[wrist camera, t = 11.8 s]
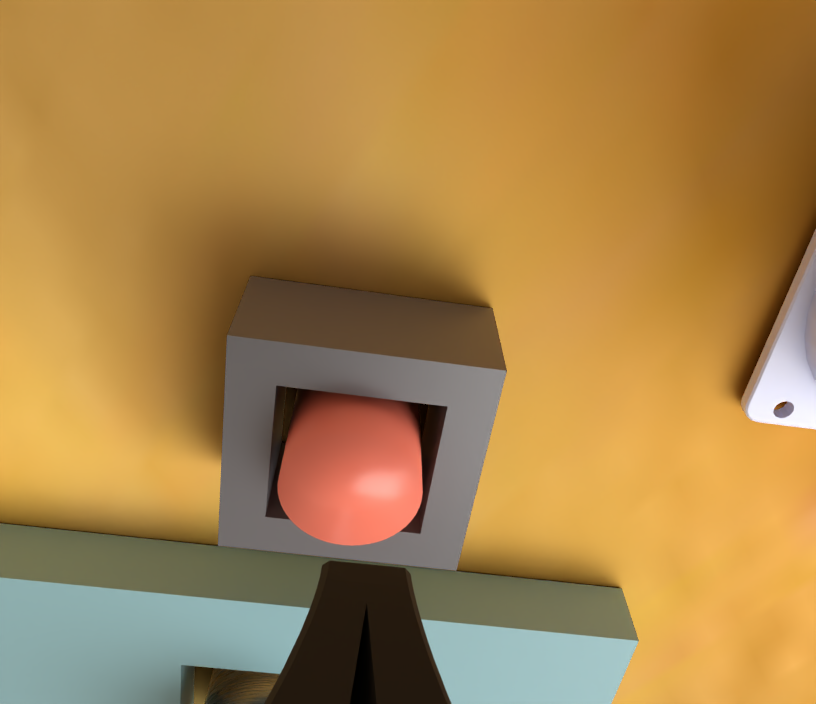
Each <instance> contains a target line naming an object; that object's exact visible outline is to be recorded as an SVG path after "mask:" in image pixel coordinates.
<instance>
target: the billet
mask: <svg viewBox="0 0 816 704" xmlns="http://www.w3.org/2000/svg"><path fill="white" fill-rule="evenodd" d="M279 675H280V674H275V673H264V672H253V671H242V670H231V669H220V668H214V669H213V672H212V676H211V680H210V684H209V688H208V692H207V696H206V701H205V704H264V703H265V701H266V699H267V697H268V695H269V694H270V692H271V690H272V688H273V686H274V685H275V683H276V681H277V679H278V677H279Z"/></svg>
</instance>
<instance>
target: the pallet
mask: <svg viewBox="0 0 816 704" xmlns="http://www.w3.org/2000/svg"><path fill="white" fill-rule="evenodd" d="M328 561H341V562H351V563H361V564H371V565H382V566H392V567H402V568H406V569H407V570H408V571H409V573H410V574H411V579H412V585H413V589H414V594H415V598H416V602H417V606H418V610H419V613H420V617H421V620H422V624H423V627H424V630H425V633H426V636H427V640H428V643H429V646H430V649H431V651H432V654H433V657H434V660H435V663H436V665H437V668H438V670H439V673H440V676H441V678H442V681H443V684H444V686H445V689H446V691H447V694H448V696H449V699H450V701H451V704H611V703H612V701H613V698H614V696H615V694H616V692H617V689H618V687H619V685H620V682H621V680H622V678H623V676H624V673H625V671H626V669H627V667H628V664H629V662H630V660H631V657H632V655H633V653H634V651H635V648H636V646H637V644H638V641H639V640H638V637H637V634H636V631H635V628H634V625H633V622H632V619H631V615H630V612H629V609H628V606H627V603H626V600H625V597H624V594H623V591H622V588H612V587H603V586H593V585H584V584H574V583H565V582H555V581H546V580H536V579H527V578H517V577H508V576H498V575H489V574H479V573H470V572H460V571H450V570H441V569H431V568H422V567H412V566H403V565H393V564H384V563H374V562H365V561H355V560H346V559H336V558H327V557H317V556H307V555H298V554H288V553H279V552H269V551H260V550H250V549H241V548H231V547H222V546H212V545H203V544H193V543H184V542H174V541H165V540H155V539H145V538H136V537H126V536H117V535H107V534H98V533H88V532H79V531H69V530H60V529H50V528H41V527H31V526H22V525H12V524H3V523H0V704H194V676H195V666H199V667H209V668H220V669H231V670H242V671H253V672H264V673H275V674H280V673H281V671H282V669H283V667H284V665H285V663H286V661H287V659H288V657H289V655H290V653H291V651H292V648H293V646H294V644H295V642H296V640H297V638H298V636H299V634H300V631H301V629H302V627H303V624H304V622H305V619H306V617H307V614H308V612H309V609H310V607H311V604H312V601H313V598H314V595H315V592H316V589H317V585H318V582H319V578H320V573H321V568H322V565H323V564H325V563H326V562H328Z"/></svg>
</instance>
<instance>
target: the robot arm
mask: <svg viewBox="0 0 816 704" xmlns="http://www.w3.org/2000/svg"><path fill="white" fill-rule="evenodd" d="M786 401H787V403H786V404H785V406H784V407H782V408H780V409H776V410H774V408H775V407H776V405H777V404H779V403H781V402H786ZM741 406H742V409H743V411H744V412H745V414H746V415H747V417H749V418H750V419H751V420H753V421H756V422H761V423H769V424H777V425H785V426H793V427H801V428H809V429H816V229H815V232H814V234H813V236H812V239H811V241H810V243H809V246H808V248H807V250H806V252H805V255H804V257H803V259H802V262H801V264H800V266H799V268H798V271H797V273H796V275H795V278H794V280H793V282H792V284H791V287H790V289H789V291H788V294H787V296H786V298H785V301H784V303H783V305H782V307H781V310H780V312H779V314H778V317H777V319H776V321H775V323H774V326H773V328H772V330H771V333H770V335H769V337H768V340H767V342H766V344H765V346H764V349H763V351H762V353H761V356H760V358H759V360H758V362H757V365H756V367H755V369H754V372H753V374H752V376H751V378H750V381H749V383H748V385H747V388H746V390H745V392H744V395H743V397H742V401H741ZM264 704H451V701H450V699H449V696H448V694H447V691H446V689H445V686H444V684H443V681H442V678H441V676H440V673H439V670H438V668H437V665H436V663H435V660H434V657H433V654H432V651H431V649H430V646H429V643H428V640H427V636H426V633H425V630H424V627H423V624H422V620H421V617H420V613H419V610H418V606H417V602H416V598H415V594H414V589H413V585H412V579H411V574H410V573H409V571H408V570H407V569H406V568H402V567H392V566H382V565H371V564H361V563H351V562H341V561H328V562H326V563H325V564H323V565H322V568H321V573H320V578H319V582H318V585H317V589H316V592H315V595H314V598H313V601H312V604H311V607H310V609H309V612H308V614H307V617H306V619H305V622H304V624H303V627H302V629H301V631H300V634H299V636H298V638H297V640H296V642H295V644H294V646H293V648H292V651H291V653H290V655H289V657H288V659H287V661H286V663H285V665H284V667H283V669H282V671H281V673H280V675H279V677H278V679H277V681H276V683H275V685H274V686H273V688H272V690H271V692H270V694H269V695H268V697H267V699H266V701H265V703H264Z"/></svg>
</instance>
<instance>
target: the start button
mask: <svg viewBox="0 0 816 704" xmlns="http://www.w3.org/2000/svg"><path fill="white" fill-rule="evenodd" d="M422 494H423V488H422V463H421V437H420V411H419V403H414V402H406V401H398V400H390V399H382V398H374V397H365V396H357V395H349V394H341V393H333V392H325V391H317V390H308V389H300V388H298V389H297V393H296V398H295V402H294V407H293V412H292V417H291V421H290V426H289V431H288V436H287V440H286V445H285V450H284V455H283V459H282V464H281V469H280V474H279V479H278V496H279V500H280V503H281V506H282V508H283V510H284V512H285V513H286V515H287V516H288V517H289V519H290V520H291V521H292V522H293V523H294V524H295V525H296V526H297V527H299V528H300V529H301V530H302V531H304V532H306V533H307V534H309V535H311V536H313V537H315V538H317V539H320V540H322V541H325V542H329V543H333V544H339V545H350V546H353V545H366V544H371V543H375V542H379V541H382V540H385V539H387V538H389V537H391V536H393V535H395V534H396V533H398V532H400V531H401V530H402V529H403V528H405V527H406V526H407V525H408V524H409V523H410V522H411V521H412V519H413V518H414V516H415V515H416V513H417V511H418V509H419V507H420V504H421V501H422Z"/></svg>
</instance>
